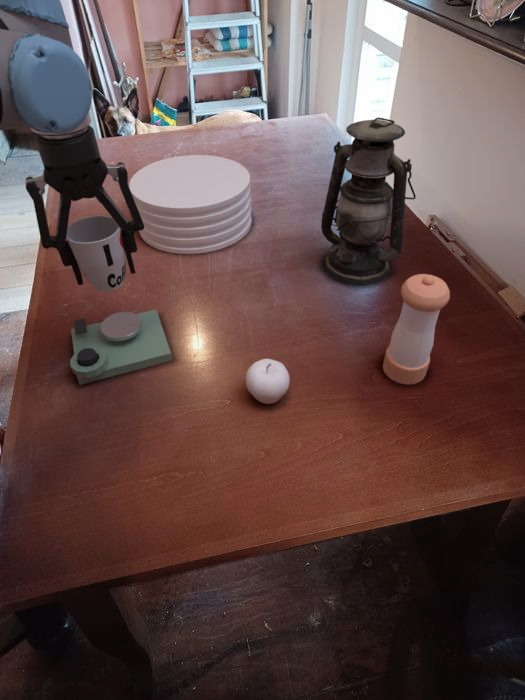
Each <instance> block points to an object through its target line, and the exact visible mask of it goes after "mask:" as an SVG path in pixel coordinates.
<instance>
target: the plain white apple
mask: <svg viewBox="0 0 525 700" xmlns="http://www.w3.org/2000/svg"><path fill="white" fill-rule="evenodd" d="M290 381H291V380H290V374H289V370H288V369H287V368H286V366H285V364H283V363H282V362H281V361H278V360H275V359H271V358H262V359H259V360H257V361H255V362H253V363H252V364H251V365H250V366H249V368H248V370H247V371H246V374H245V385H246V388H247V390H248V392H249V393H250V394H251V396H253V398H254V399H255V400H257V401H258V402H260V403H261V404H266V405H271V404H275V403H277V402H278V401H280V400H281V399H282V397H283V396H284V395H285V394H286V393H287V391H288V389H289V387H290Z"/></svg>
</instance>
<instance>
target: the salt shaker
mask: <svg viewBox="0 0 525 700" xmlns="http://www.w3.org/2000/svg"><path fill="white" fill-rule="evenodd" d="M400 295H401V299H402V301H403V303H402V306H401V311H400V314H399V315H400V316H399V318H398V320H397V322H396V324H395V326H394V328H393V330H392V333H391V338H390V342H389V345H388V346H387V348H386V350H385V354H384V358H383V364H382V369H383V372H384V374H385V375H386V376H387V377H388V378H389V379H390V380H392V381H394V382H396V383H398V384H402V385H415V384H418V383H420V382H422V381H423V380H424V379H425V377H426V375H427V372H428V370H429V365H430V363H431V353H432V349H433V347H434V341H435V331H436V325H437V322H438V318H439V315H440V312H441V309H443V308H444V307H445V306H447V304H448V303H449V301H450V299H451V291H450V288H449V286H448V284H447V282H445V281H444V280H443V278H440V277H438V276H435V275H433V274H427V273H418V274H414V275H412V276H410V277H408V278H407V279H406V280H405V281H404V282H403V284H402V285H401V287H400Z"/></svg>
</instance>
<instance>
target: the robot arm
mask: <svg viewBox="0 0 525 700" xmlns="http://www.w3.org/2000/svg"><path fill="white" fill-rule="evenodd" d="M69 29H70V26H69V23H68V21H67V19H66V15H65V11H64V8H63V5H62V2H61V0H0V131H5V130H14V129H22V128H30V130H31V131H32V132H33V133H35V135H34V138H33V139H34V141H35V145H36V147H37V151H38V154H39V157H40V159H41V162H42V165H43V173H42V174H41V175H39V176H36V177H33V176H27V177H26V178H25V190H26V191H27V193H28V195H29V196H30V198H31V200H32V201H33V202H32V203H33V208H34V211H35V217H36V222H37V227H38V231H39V237H40V242H41V246H42V248H43V249H46V250H48V249H50V248H53V249H56V250H57V252H58V255H59V257H60V260H61V263H62V265H63V266H64V267H65V268H66V267H71V269H72V271H73V274H74V277H75V280H76V282H77V286H81V285H84V281H83V273H82V270H81V268H80V267H79V265H78V263H77V261H76V260H75V257H74V255H73V252H72V250H71V248H70V246H69V243H68V241H67V239H66V235H67V227H68V226H69V218H70V211H71V207H72V202H77V201H80V200H82V199H94V198H95V199H96V200H97V201H98V202H99V204H101V205H102V206H103V207H104V209H105V210H106V211H107V213H108V214H109V215H110V217H112V218H113V219H114V220H115V221H116V223H117V224H118V225H119V226H120V228H121V233H122V240H123V244H124V249H125V258H126V261H127V265H128V269H129V272H130V274H131V275H132V274H136V269H135V264H134V260H133V256H132V254H133V253H137V252H138V245H137V241H136V238H135V234H136V232H139V230H143V229H144V224H143V221H142V219H141V216H140V214H139V211H138V208H137V206H136V203H135V201H134V198H133V196H132V193H131V191H130V188H129V180H128V179H129V175H128V174H129V173H128V170H127V167H126V164H125V163H124V162H122V161H120V162H117V163H116V164H106V162H105V161H104V160H103V158H102V156H101V152H100V148H99V144H98V140H97V137H96V133H95V129H94V128H93V127H92V126H91V123H92V117H91V113H90V110H91V106H92V102H93V91H92V89H93V87H92V84H91V77H90V74H89V71H88V69H87V67H86V64H85V63H84V61H83V59H82V58H81V57H80V56H79V54H78V53H77V52H76V51H75V50H74V46H73V41H72V38H71V32H70V30H69ZM108 175H109V176H111V178H112V180H113V181H114V182H115V183H116V182H117V183H118V185H119V189H120V191H121V194H122V196H123V199H124V201H125V203H126V206H127V208H128V210H129V213H130V215H131V218H132V220H130V221H129V220H128V219H127V217H126V216H125V214H124V213H123V212H122V210H121V209H120V208H119V207H118V205H117V204H116V203H115V201H114V200H113V199H112V198H111V196H110V195H109V194H108V192H107V190H106V189H105V187H104V186H103V185H104V183H105V180H106V178H107V176H108ZM46 185H48V186H49V187H50V188H52V189H53V190H54V191H56V192H57V193H58V194H59V203H58V213H57V222H56V229H55V230H56V231H55V235H51V234H50V228H49V223H48V218H47V211H46V207H45V201H44V196H43V195H44V194H45V192H46Z"/></svg>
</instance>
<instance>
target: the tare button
mask: <svg viewBox="0 0 525 700" xmlns="http://www.w3.org/2000/svg"><path fill="white" fill-rule="evenodd" d="M77 358H78V360H79V363H80V364H81V365H82V366H84V367H88V366H92V365H94V364H95V363H96V362H97V360H98V357H97V354H96V351H95V350H94V349H92V348H85V349H83V350H81V351H80V352H79V353H78V355H77Z"/></svg>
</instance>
